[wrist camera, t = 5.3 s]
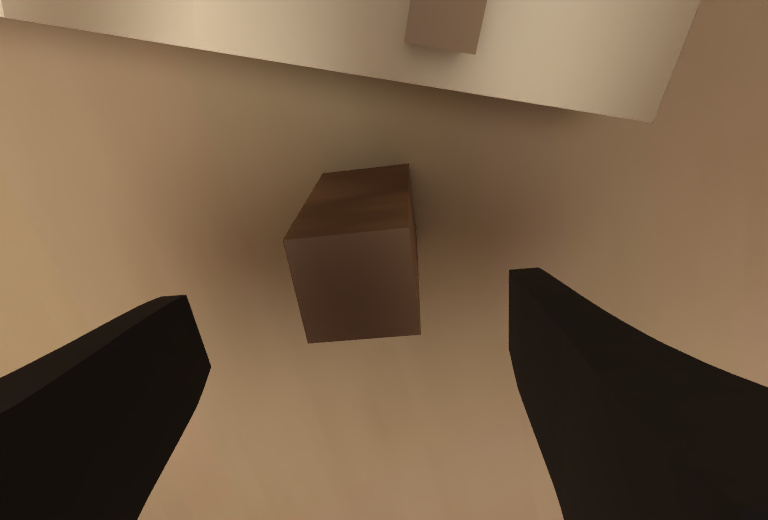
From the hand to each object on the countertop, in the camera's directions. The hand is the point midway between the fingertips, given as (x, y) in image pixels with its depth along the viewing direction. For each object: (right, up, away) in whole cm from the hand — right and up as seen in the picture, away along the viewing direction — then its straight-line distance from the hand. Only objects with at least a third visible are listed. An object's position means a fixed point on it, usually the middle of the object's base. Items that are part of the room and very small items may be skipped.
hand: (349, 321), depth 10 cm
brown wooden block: (0, +3, +6) cm, 7 cm away
